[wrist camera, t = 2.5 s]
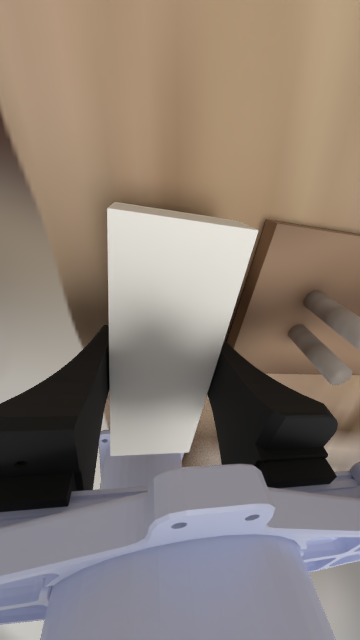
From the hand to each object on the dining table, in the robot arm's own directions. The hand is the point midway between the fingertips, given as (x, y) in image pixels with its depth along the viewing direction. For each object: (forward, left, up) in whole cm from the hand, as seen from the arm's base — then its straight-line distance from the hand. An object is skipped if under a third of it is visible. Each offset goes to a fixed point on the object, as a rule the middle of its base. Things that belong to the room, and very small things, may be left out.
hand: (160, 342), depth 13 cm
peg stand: (+2, -14, -2) cm, 14 cm away
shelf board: (0, 0, +1) cm, 1 cm away
